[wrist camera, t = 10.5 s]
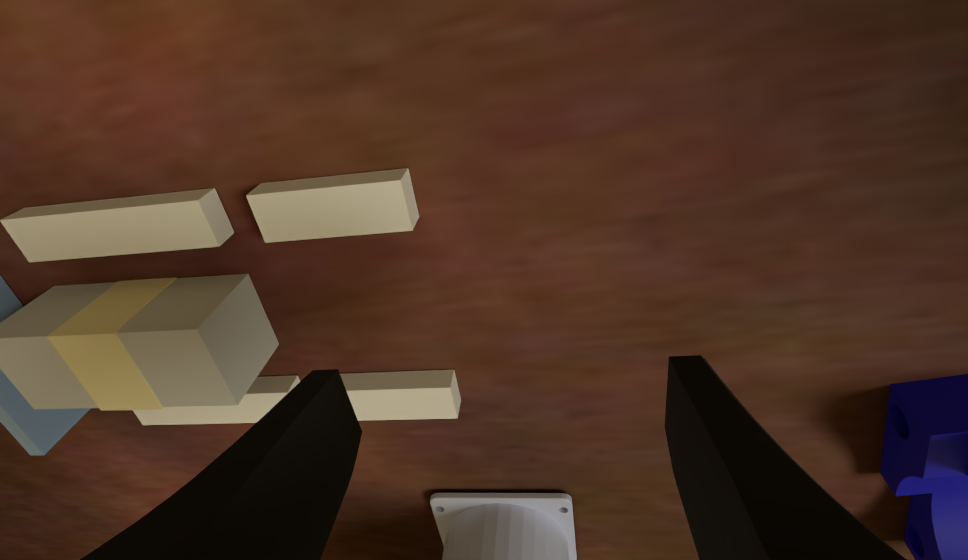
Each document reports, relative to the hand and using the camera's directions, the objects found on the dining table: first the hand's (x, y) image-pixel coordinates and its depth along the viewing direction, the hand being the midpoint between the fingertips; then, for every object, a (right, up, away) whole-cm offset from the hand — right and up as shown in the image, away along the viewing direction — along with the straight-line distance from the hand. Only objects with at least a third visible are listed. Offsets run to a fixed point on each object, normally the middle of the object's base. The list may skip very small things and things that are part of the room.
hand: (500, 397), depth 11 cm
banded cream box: (-15, +1, +13) cm, 20 cm away
